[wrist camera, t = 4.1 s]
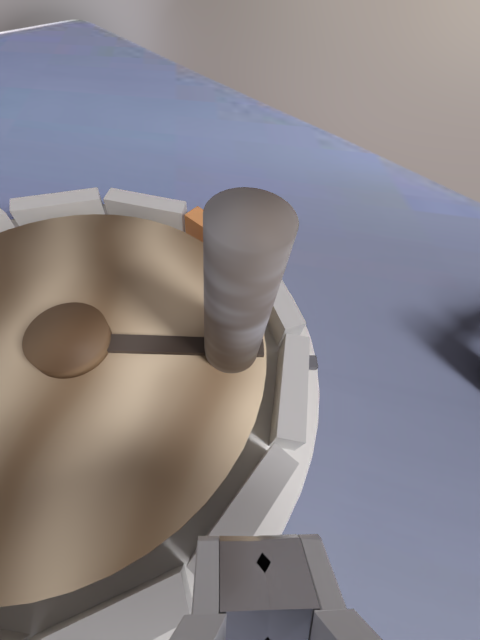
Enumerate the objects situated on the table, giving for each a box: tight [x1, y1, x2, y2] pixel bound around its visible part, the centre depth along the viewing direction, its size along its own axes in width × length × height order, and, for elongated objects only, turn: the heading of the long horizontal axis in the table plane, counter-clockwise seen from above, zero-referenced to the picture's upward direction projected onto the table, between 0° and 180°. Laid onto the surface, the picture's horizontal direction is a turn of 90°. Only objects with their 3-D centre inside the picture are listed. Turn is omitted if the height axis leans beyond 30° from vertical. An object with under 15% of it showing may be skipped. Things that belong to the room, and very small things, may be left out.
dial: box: [0, 187, 299, 607], centre depth 13 cm, size 21×21×10 cm
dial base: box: [0, 188, 319, 640], centre depth 17 cm, size 28×28×4 cm
